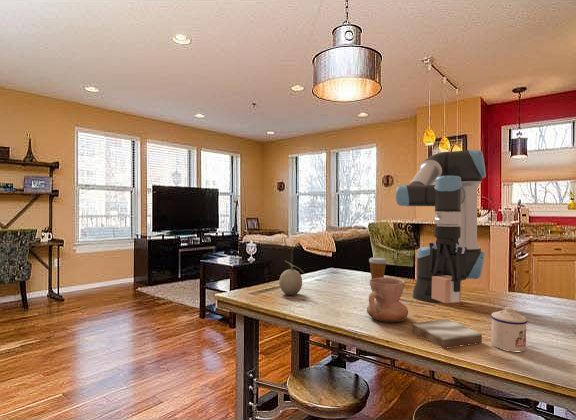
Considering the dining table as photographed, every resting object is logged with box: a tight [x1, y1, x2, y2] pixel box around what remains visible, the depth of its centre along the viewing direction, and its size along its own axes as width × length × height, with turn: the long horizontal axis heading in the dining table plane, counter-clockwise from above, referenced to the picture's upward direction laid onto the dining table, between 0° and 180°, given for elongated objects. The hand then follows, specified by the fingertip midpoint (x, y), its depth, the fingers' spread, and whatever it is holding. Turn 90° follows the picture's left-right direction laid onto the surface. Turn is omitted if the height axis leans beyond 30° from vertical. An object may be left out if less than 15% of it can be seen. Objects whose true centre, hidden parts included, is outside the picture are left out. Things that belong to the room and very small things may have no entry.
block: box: [431, 276, 463, 304], centre depth 111 cm, size 6×6×7 cm
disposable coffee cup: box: [368, 256, 387, 279], centre depth 195 cm, size 10×10×12 cm
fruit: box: [278, 260, 305, 296], centre depth 163 cm, size 10×12×15 cm
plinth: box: [412, 318, 483, 349], centre depth 112 cm, size 14×14×3 cm
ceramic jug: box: [366, 276, 409, 323], centre depth 129 cm, size 18×14×14 cm
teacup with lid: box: [490, 306, 528, 352], centre depth 105 cm, size 12×9×12 cm
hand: (446, 298), depth 111 cm, fingers closed on block, 6 cm apart
